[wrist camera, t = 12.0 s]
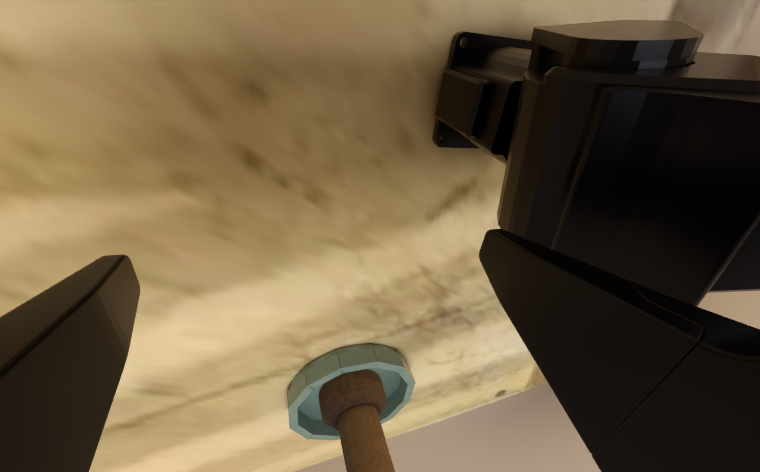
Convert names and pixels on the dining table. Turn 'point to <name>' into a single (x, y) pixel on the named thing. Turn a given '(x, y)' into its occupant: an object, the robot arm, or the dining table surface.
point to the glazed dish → (333, 364)
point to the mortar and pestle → (357, 419)
